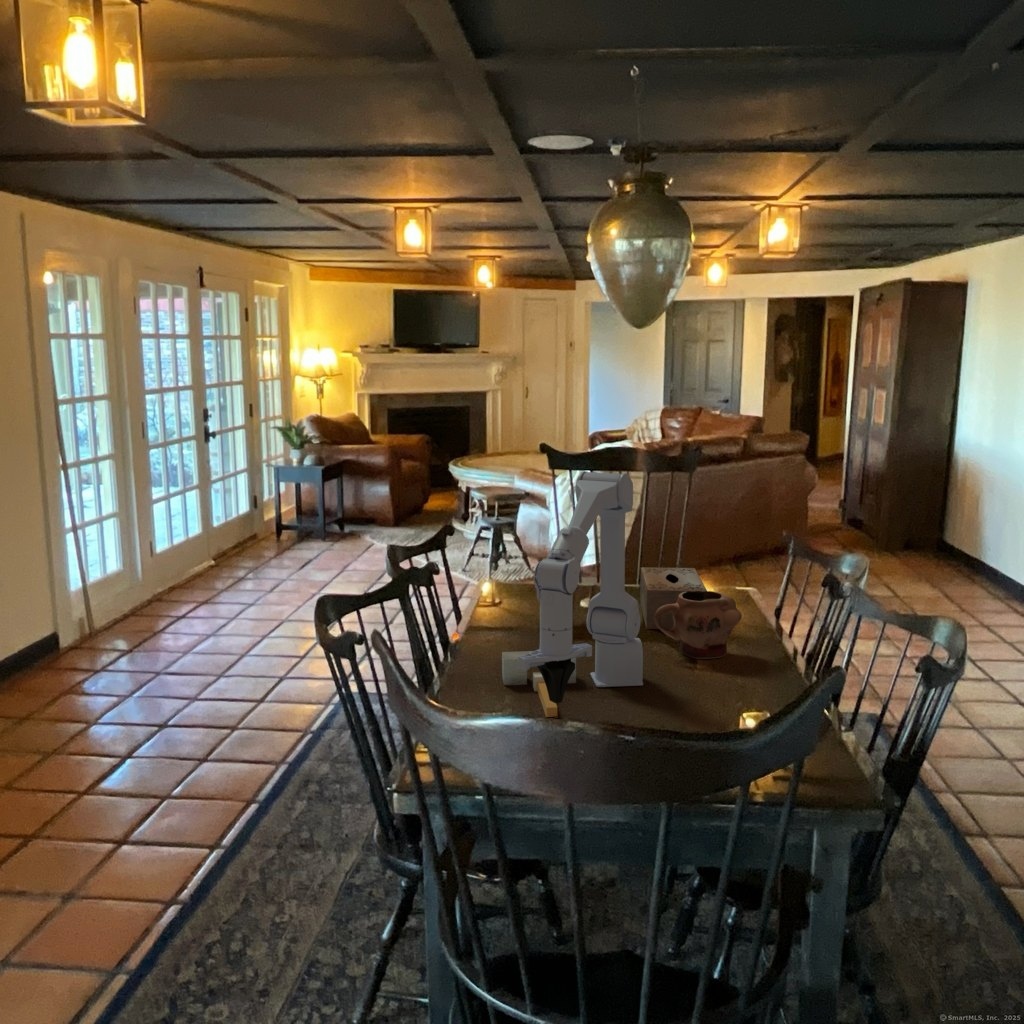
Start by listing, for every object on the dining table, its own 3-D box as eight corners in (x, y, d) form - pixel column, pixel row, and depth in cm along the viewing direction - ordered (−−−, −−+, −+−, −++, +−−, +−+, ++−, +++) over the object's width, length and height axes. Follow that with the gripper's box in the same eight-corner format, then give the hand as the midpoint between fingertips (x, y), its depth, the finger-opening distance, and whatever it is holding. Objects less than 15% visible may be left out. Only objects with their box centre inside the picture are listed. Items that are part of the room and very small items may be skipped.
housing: (571, 674, 192) (572, 649, 191) (575, 682, 187) (575, 657, 186) (502, 677, 191) (502, 652, 190) (504, 685, 186) (504, 659, 185)
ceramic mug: (667, 667, 197) (668, 604, 195) (644, 650, 208) (645, 590, 206) (751, 659, 202) (753, 597, 200) (724, 643, 214) (725, 584, 211)
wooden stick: (560, 717, 169) (560, 701, 169) (543, 718, 169) (543, 702, 168) (548, 685, 186) (548, 671, 185) (532, 686, 185) (532, 672, 185)
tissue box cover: (706, 630, 225) (707, 590, 223) (646, 629, 226) (647, 590, 224) (693, 604, 250) (694, 568, 248) (640, 603, 251) (640, 567, 250)
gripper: (575, 615, 168) (575, 687, 170) (508, 627, 160) (508, 702, 163) (599, 624, 162) (598, 698, 164) (531, 637, 155) (531, 714, 157)
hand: (555, 701), depth 163 cm, fingers closed
